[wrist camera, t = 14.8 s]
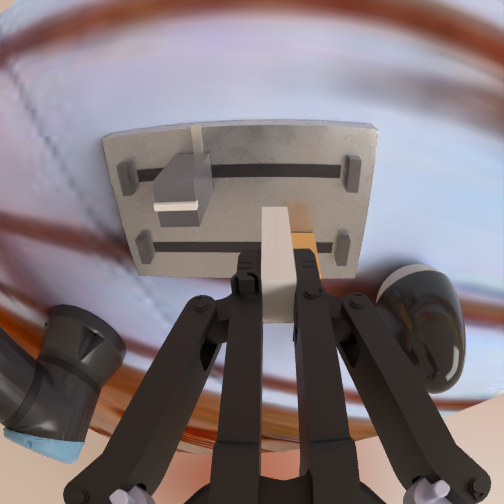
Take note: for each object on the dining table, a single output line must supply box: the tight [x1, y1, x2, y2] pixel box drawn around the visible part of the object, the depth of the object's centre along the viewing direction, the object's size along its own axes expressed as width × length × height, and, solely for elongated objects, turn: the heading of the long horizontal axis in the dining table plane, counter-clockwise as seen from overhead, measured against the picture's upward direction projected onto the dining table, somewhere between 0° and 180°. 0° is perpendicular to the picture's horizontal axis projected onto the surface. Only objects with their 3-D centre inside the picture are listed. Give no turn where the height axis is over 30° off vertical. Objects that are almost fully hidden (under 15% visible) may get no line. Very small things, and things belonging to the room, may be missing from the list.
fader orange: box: [291, 233, 321, 280], centre depth 28 cm, size 3×4×6 cm
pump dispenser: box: [375, 264, 466, 394], centre depth 29 cm, size 10×10×15 cm
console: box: [102, 120, 378, 278], centre depth 29 cm, size 24×16×3 cm
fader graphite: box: [152, 152, 214, 227], centre depth 24 cm, size 3×4×6 cm
